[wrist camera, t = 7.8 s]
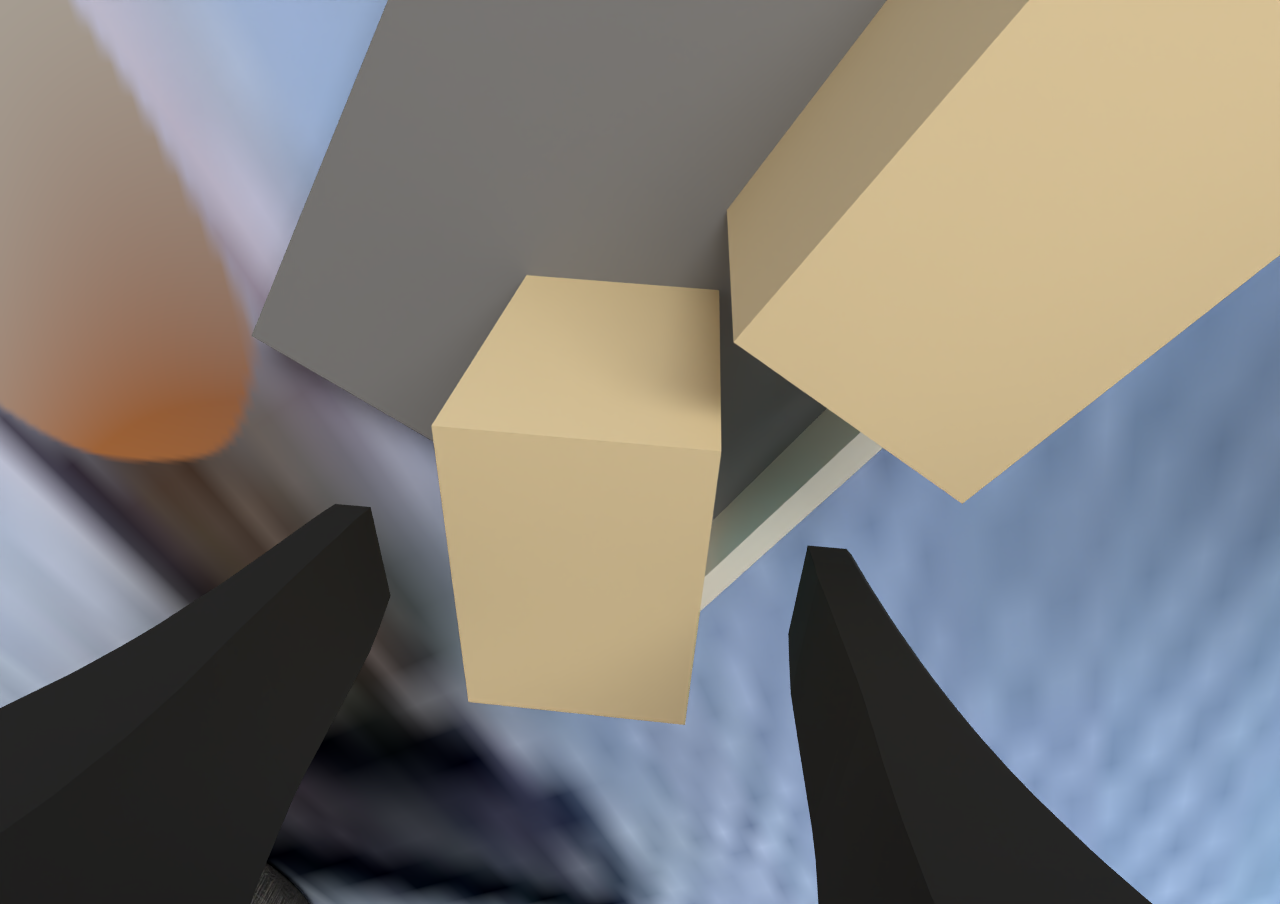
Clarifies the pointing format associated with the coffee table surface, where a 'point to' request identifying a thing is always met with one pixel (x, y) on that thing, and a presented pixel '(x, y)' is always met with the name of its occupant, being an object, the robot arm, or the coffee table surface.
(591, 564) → the carton
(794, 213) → the carton faced
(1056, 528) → the coffee table surface
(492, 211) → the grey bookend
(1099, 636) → the coffee table surface
